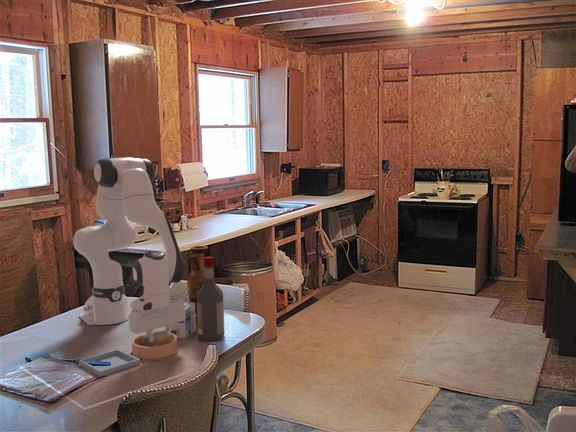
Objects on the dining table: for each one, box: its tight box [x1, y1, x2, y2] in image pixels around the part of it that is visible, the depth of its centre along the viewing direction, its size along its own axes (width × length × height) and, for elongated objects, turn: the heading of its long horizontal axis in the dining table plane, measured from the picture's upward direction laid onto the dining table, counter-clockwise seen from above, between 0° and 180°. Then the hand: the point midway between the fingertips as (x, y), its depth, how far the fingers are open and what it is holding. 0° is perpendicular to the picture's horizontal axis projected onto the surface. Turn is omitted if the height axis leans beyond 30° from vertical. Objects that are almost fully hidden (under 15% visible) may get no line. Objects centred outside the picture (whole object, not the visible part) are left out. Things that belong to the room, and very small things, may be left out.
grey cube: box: [144, 334, 156, 347], centre depth 207 cm, size 4×4×4 cm
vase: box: [185, 245, 209, 325], centre depth 237 cm, size 11×11×30 cm
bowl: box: [131, 332, 178, 360], centre depth 206 cm, size 15×15×4 cm
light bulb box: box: [169, 301, 197, 339], centre depth 224 cm, size 11×7×11 cm, turn 169°
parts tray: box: [78, 348, 141, 378], centre depth 194 cm, size 14×14×2 cm
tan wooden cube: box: [153, 329, 166, 345], centre depth 203 cm, size 4×4×4 cm
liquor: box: [196, 255, 225, 343], centre depth 217 cm, size 9×9×30 cm
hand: (159, 339), depth 203 cm, fingers closed on tan wooden cube, 4 cm apart
